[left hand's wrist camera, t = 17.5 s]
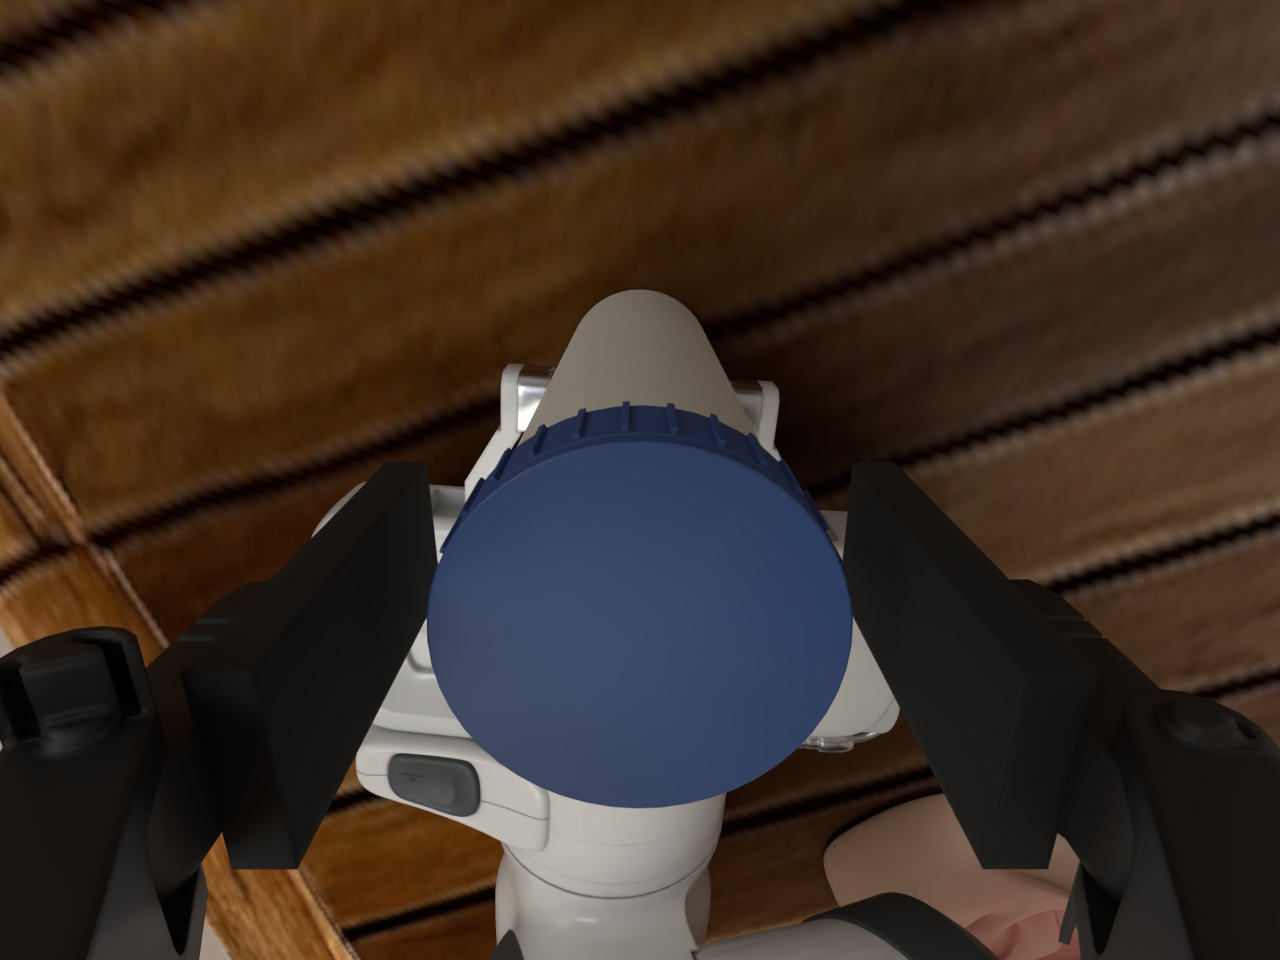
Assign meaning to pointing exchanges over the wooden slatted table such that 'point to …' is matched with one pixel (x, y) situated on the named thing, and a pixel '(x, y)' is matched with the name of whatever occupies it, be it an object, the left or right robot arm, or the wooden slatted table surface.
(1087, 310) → the wooden slatted table surface
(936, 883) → the anatomical model
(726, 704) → the lid
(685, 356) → the bottle
